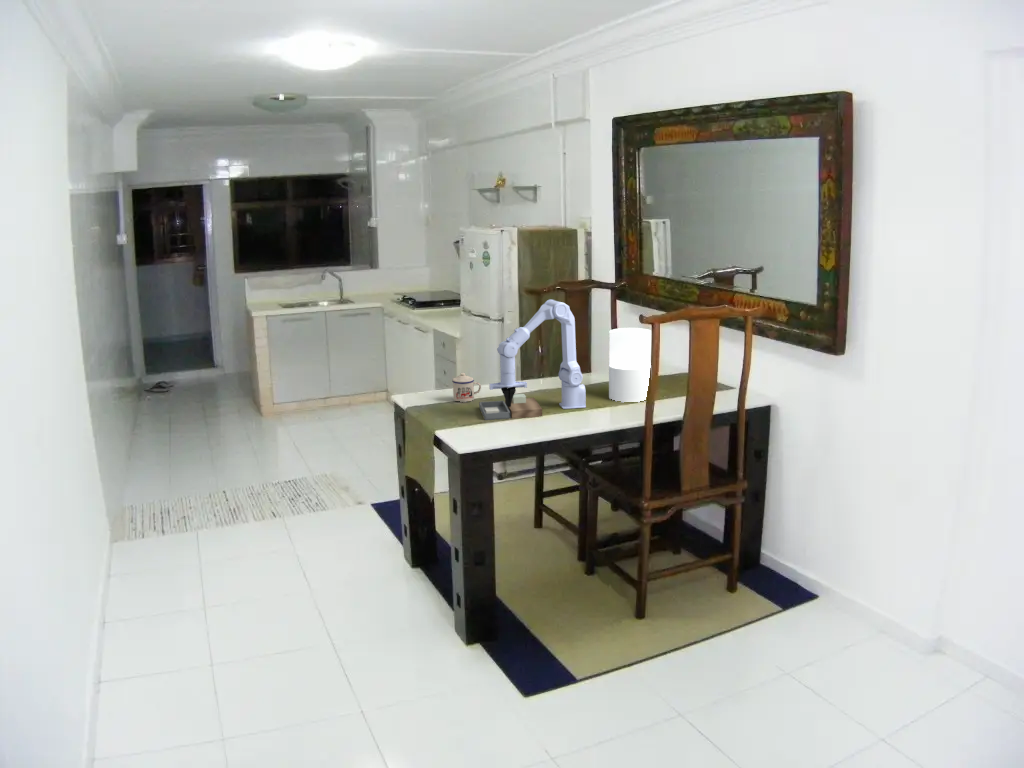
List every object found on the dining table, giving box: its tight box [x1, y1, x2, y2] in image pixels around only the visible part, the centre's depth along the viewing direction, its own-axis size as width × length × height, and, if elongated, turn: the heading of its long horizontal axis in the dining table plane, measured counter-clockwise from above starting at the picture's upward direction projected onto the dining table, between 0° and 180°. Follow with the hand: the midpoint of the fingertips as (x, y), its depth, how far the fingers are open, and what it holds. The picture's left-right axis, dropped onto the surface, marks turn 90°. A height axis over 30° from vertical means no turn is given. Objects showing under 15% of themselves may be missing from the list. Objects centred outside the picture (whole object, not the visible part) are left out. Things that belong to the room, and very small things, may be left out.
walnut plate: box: [504, 397, 543, 419], centre depth 335 cm, size 12×18×3 cm, turn 9°
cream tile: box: [485, 407, 499, 413], centre depth 328 cm, size 5×5×2 cm
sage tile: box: [512, 393, 527, 404], centre depth 338 cm, size 5×5×2 cm
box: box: [478, 400, 512, 421], centre depth 333 cm, size 10×18×2 cm, turn 9°
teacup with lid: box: [452, 372, 482, 403], centre depth 353 cm, size 12×9×12 cm
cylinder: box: [608, 327, 652, 403], centre depth 349 cm, size 17×17×28 cm
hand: (508, 406), depth 329 cm, fingers closed
